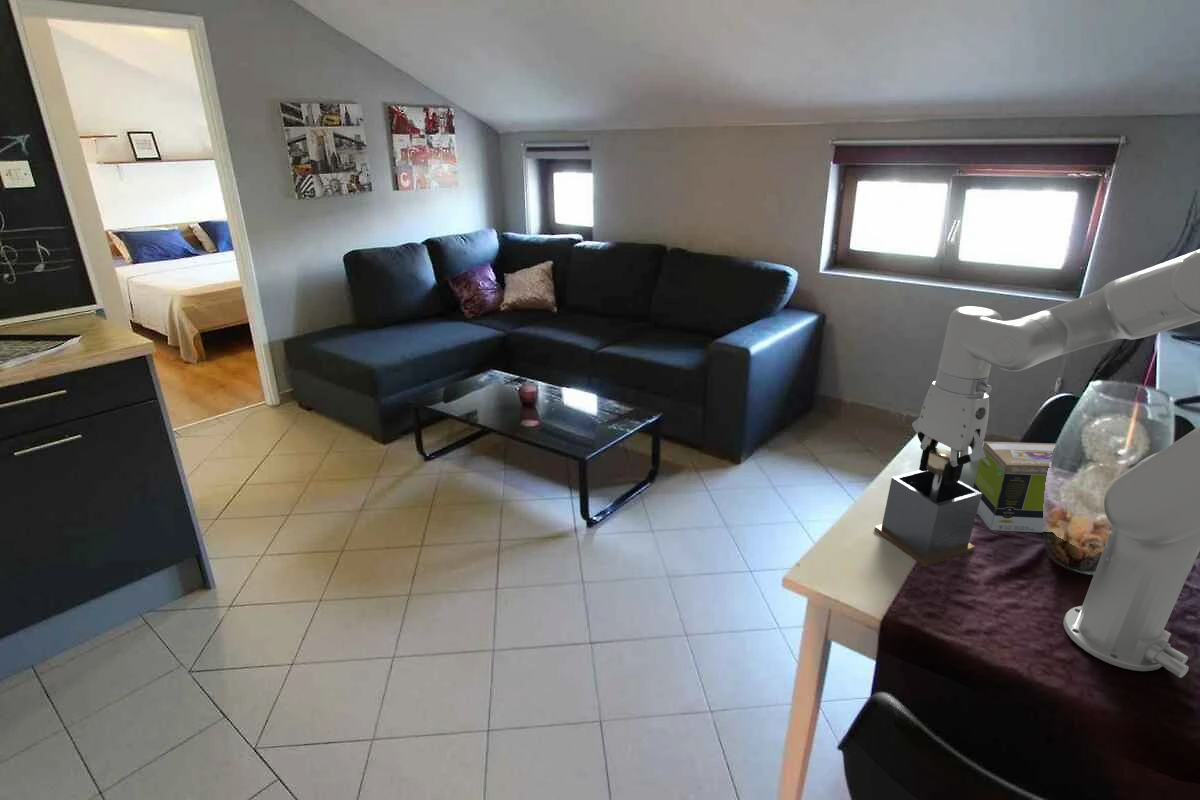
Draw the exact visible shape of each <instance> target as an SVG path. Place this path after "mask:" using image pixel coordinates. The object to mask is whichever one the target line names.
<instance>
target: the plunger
mask: <svg viewBox="0 0 1200 800" xmlns="http://www.w3.org/2000/svg"><path fill="white" fill-rule="evenodd" d="M949 463H951V450H948V449H943V448H937V449H932V450H930V452H929V457H928V461H927V465H926V468H927V470H928V471H930V472H931V473H934V474H935V475H934V480H933V484H932V488H931V492H930V497H929V498H931V499H933V500H934V501H936V499H937V495H938V491H939V487H940V483H941V479H942V476H944V474H945V470H946V466H947V464H949Z"/></svg>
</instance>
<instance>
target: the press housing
mask: <svg viewBox="0 0 1200 800" xmlns="http://www.w3.org/2000/svg"><path fill="white" fill-rule="evenodd" d="M934 475H935V474H934V473H931V472H930V471H928V470H927V471H920V470H919V469H918V470H914V471H911V472H907V473H903V474H900V475H896V476H892V477H891V479H890V484H889V490H888V494H887V500H886V503H885V510H884V514H883V518H882V523H881V524H879V525H875V526H874V530H873V531H874V532H875V533H876V534H879V536H881V537H883V538H884V539H885V540H886V541H888V542H890V544H892V545H893V546H895V547H896V548H898V549H899V550H900V551H902V553H905V554H906V555H907V556H908V557H910V558H911V559H913V560H914V561H916V563H919V564H920V565H921V566H923V567H925V568H927V567H930V566H933V565H936V564H939V563H942V562H945V561H947V560H948V561H949V560H951V559H954V558H956V557H959V556H960V557H961V556H963V555H966V554H969V553H972V552H974V551H975V547H976V546H975V545H974V544H973V543H970V539H971V536H972V532H973V528H974V526H975V521H976V517H977V515H978V514H977V511H978V507H979V503H980V500H981V496H982V493H981V492H979V491H977V490H975V489H974V488H972V487H970V486H968V485H966V484H964V483H963V482H961V481H958V482H956V483H953V484H949V485H945V484H943V478H944V476H942V479H941V483H940V487H939V491H938V495H937V499H936V501H934V500H933V499H931V498H929V497H930V492H931V488H932V484H933V480H934Z"/></svg>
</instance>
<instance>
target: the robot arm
mask: <svg viewBox="0 0 1200 800" xmlns="http://www.w3.org/2000/svg"><path fill="white" fill-rule="evenodd" d="M1198 322H1200V248H1199V249H1197V250H1194V251H1192V252H1188V253H1186V254H1183V255H1180V256H1178V257H1175V258H1172V259H1169V260H1167V261H1164V262H1160V263H1158V264H1156V265H1153V266H1150V267H1147V268H1144V269H1142V270H1138V271H1136V272H1133V273H1131V274H1127V275H1125V276H1123V277H1119V278H1116V279H1114V280H1112V281H1110V282H1108V283H1106V284H1105V285H1104V286H1103V287H1101V288H1099V289H1097V290H1096V291H1094V292H1092V293H1088V294H1087V295H1083V296H1081V297H1079V298H1076V299H1073V300H1070V301H1067V302H1065V303H1061V304H1058V305H1056V306H1052V307H1050V308H1047V309H1045V310H1041V311H1038V312H1035V313H1032V314H1029V315H1025V316H1022V317H1019V318H1016V319H1009V320H1003V317H1002V315H1001V314H1000V313H999V312H997V311H996V310H994V309H991V308H987V307H981V306H974V305H973V306H972V305H966V306H960V307H957V308H955V309H954V310H952V312H951V313H950V315H949V318H948V322H947V327H946V331H945V336H944V341H943V345H942V349H941V354H940V359H939V362H938V367H937V371H936V376H935V380H933V382H931V384H930V387H929V388H928V391H927V393H926V394H925V398H924V401H923V403H922V404H923V405H922V407H921V410H920V414H919V416H918V417H917V419H915V420H914V421H913V422H912V423H911V426H912V428H913V430H914V431H915V433H916V434H917V438H918V440H919V443H920V445H919V447H920V449H921V450H922V453H921V457H920V461H919V462H920V463H919V468H918V470H920V471H927V468H926V465H927V461H928V457H929V452H930V450H932V449H938V448H937V447H938V444H939V443H940V444H941V445H944V446H947V447H948V448H950V452H951V463H949V464H947V466H946V470H945V474H944V478H943V484H945V485H949V484H953V483H956V482H958V481H959V479H960V476H961V472H962V468H963V465H964V464H966V463H968V462H971V461H976V460H981V459H984V458H985V457H986V456H985V453H984V450H983V447H982V445H983V442H985V438H986V434H987V428H988V423H989V422H988V421H989V413H990V412H989V411H990V396H989V394H990V393H991V392H992V390H993V386H992V385H990V384H989V383H988V382H989V379H990V378H989V375H990V373H991V368H992V366H993V367H995V368H998V369H1000V370H1003V371H1007V372H1022V371H1024V370H1027V369H1029V368H1031V367H1034V366H1036V365H1038V364H1041V363H1043V362H1045V361H1048V360H1051V359H1054V358H1056V357H1059V356H1062V355H1065V354H1068V353H1072V352H1075V351H1079V350H1081V349H1085V348H1089V347H1092V346H1095V345H1099V344H1102V343H1107V342H1111V341H1115V340H1120V339H1123V340H1124V339H1125V340H1137V339H1142V338H1146V337H1150V336H1153V335H1156V334H1159V333H1164V332H1167V331H1170V330H1173V329H1174V330H1175V329H1177V328H1181V327H1183V326H1187V325H1191V324H1194V323H1198ZM969 446H970V449H971V453H969ZM1103 508H1104V512H1105V515H1106V518H1107V520H1108V521H1109V522H1110V523H1109V524H1110V525H1112V526H1111V529H1110V532H1109V535H1108V537H1107V539H1106V542H1105V545H1104V546H1103V549H1102V552H1101V555H1100V557H1099V559H1098V563H1097V566H1096V568H1095V570H1094V574H1093V577H1092V579H1091V581H1090V584H1089V587H1088V590H1087V592H1086V596H1085V598H1084V600H1083V603H1082V605H1079V606H1074V607H1072V608H1070V609H1069V610H1068V611H1067V612H1066V613H1065V615H1064V617H1063V628H1064V630H1065V632H1066V634H1067V635H1068V637H1070V639H1071V640H1072V641H1073V642H1074V643H1075V644H1076V645H1077V646H1078V647H1080V648H1081V649H1083V650H1084V651H1085V652H1086V653H1088V654H1090V655H1091V656H1093V657H1095V658H1097V659H1099V660H1101V661H1103V662H1104V663H1108V664H1110V665H1113V666H1115V667H1119V668H1121V669H1126V670H1131V671H1136V672H1137V671H1138V672H1149V671H1155V670H1159V669H1160V668H1162V667H1163V668H1165V670H1167V671H1169V672H1170V673H1171V674H1174V675H1175V676H1176V677H1178V678H1183V677H1184V676H1186V674H1187V673H1188V672H1189V669H1190V667H1189V666H1188V664H1186V663H1187V661H1188V660H1189V656H1188V655H1186V654H1184V653H1183V652H1181V651H1179V650H1177V649H1175V648H1174V647H1171V643H1169V639H1170V637H1172V633H1171V632H1169V631H1168V630H1165V627H1166V625H1167V623H1168V621H1169V618H1170V617H1171V614H1172V611H1173V609H1174V608H1175V605H1176V603H1177V601H1178V598H1179V596H1180V594H1181V592H1182V590H1183V587H1184V585H1185V583H1186V581H1187V579H1188V576H1189V575H1190V572H1191V571H1192V569H1193V566H1194V564H1195V562H1196V559H1197V557H1198V556H1199V553H1200V425H1199V426H1197V427H1196V428H1194V429H1193V430H1191V431H1190V432H1188V433H1187V434H1185V435H1184V436H1182V437H1181V438H1179V439H1177V440H1176V441H1174V442H1173V443H1171V444H1169V445H1168V446H1167V447H1165V448H1164V449H1161V451H1159V452H1158V451H1157V452H1155V453H1153V454H1150V455H1149V456H1147V457H1145V458H1144V459H1142V460H1140V461H1139V462H1138V463H1136V464H1135V465H1134V466H1132V467H1131V468H1130V469H1128V470H1127V471H1125V472H1124V473H1123V474H1121V475H1120V476H1118V477H1117V478H1116V479H1115V480H1113V481H1112V483H1111V484H1110V485H1109V487H1108V488H1107V490H1106V492H1105V495H1104V501H1103Z"/></svg>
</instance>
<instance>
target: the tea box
mask: <svg viewBox="0 0 1200 800" xmlns="http://www.w3.org/2000/svg"><path fill="white" fill-rule="evenodd" d="M1056 444H1057V443H1046V442H1045V443H1043V442H1042V443H1041V442H1010V441H1007V442H1006V441H1005V442H1004V441H984V445H983V450H984V453H985V456H986V457H985V458H984V459H981V460H980V462H979V466H978V470H977V474H976V478H975V482H974V486H973V488H974V489H975V490H977V491H979V492H981V493H982V496H981V500H980V503H979V507H978V511H977V514H976V515H978V516H979V517H980V518H981V520H982V522H983V523H984V525H986V526H987V527H988V529H989V531H1004V532H1021V533H1022V532H1025V533H1028V532H1029V533H1043V503H1044V491H1045V482H1046V476H1047V471H1048V468H1050V467H1049V463H1050V460H1051V456H1052V453H1053V450H1054V448H1055V446H1056Z"/></svg>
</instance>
